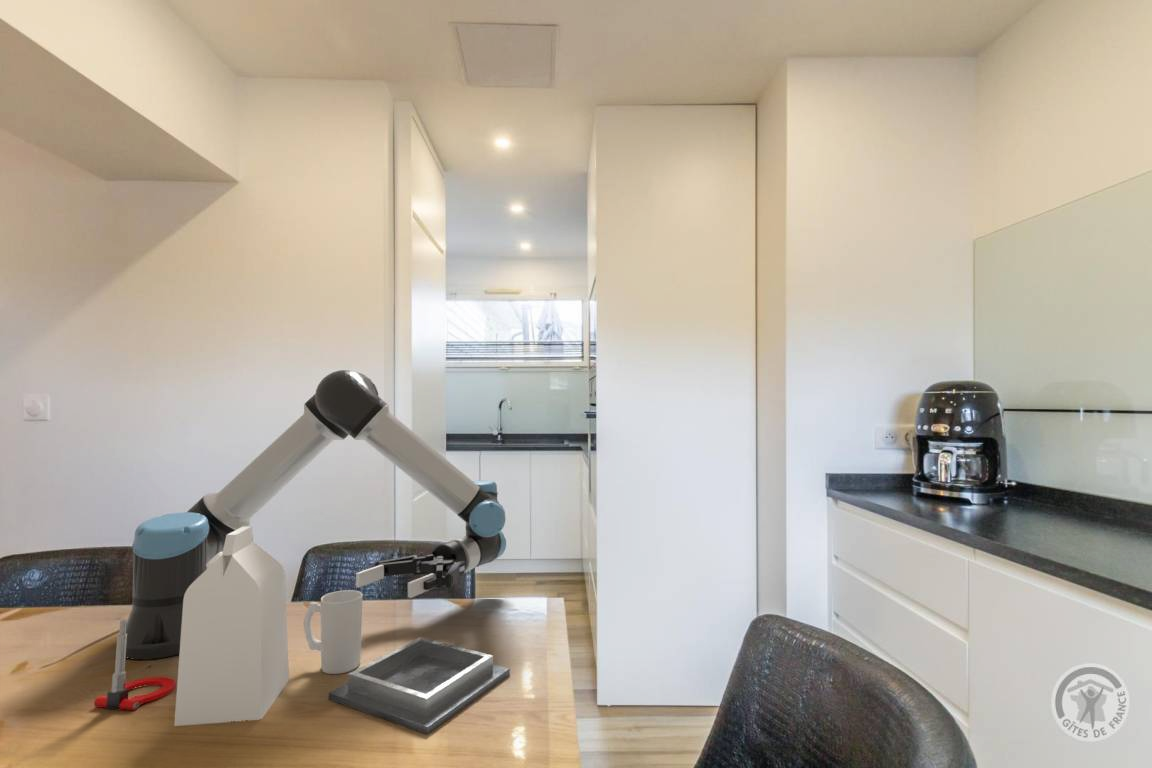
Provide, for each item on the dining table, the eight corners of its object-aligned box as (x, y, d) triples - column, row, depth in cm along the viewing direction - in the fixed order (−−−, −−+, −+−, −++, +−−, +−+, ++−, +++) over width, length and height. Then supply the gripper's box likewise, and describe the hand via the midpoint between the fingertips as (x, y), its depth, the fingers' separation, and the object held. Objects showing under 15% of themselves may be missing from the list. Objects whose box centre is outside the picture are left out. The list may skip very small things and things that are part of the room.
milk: (261, 719, 84) (264, 538, 85) (174, 726, 82) (178, 540, 83) (289, 680, 96) (291, 521, 97) (213, 685, 94) (217, 523, 95)
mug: (368, 658, 104) (369, 590, 104) (351, 675, 97) (352, 603, 98) (313, 656, 104) (314, 589, 105) (293, 674, 98) (294, 602, 98)
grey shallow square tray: (328, 699, 90) (328, 676, 90) (419, 650, 107) (420, 631, 107) (427, 734, 80) (427, 708, 80) (509, 674, 98) (509, 653, 98)
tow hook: (142, 682, 96) (87, 708, 87) (148, 601, 97) (94, 619, 88) (187, 686, 95) (136, 713, 85) (192, 605, 96) (143, 623, 86)
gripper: (501, 582, 124) (432, 615, 105) (413, 567, 135) (337, 595, 116) (500, 546, 124) (432, 574, 105) (412, 535, 135) (337, 557, 117)
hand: (382, 585), depth 111 cm, fingers open, 13 cm apart
